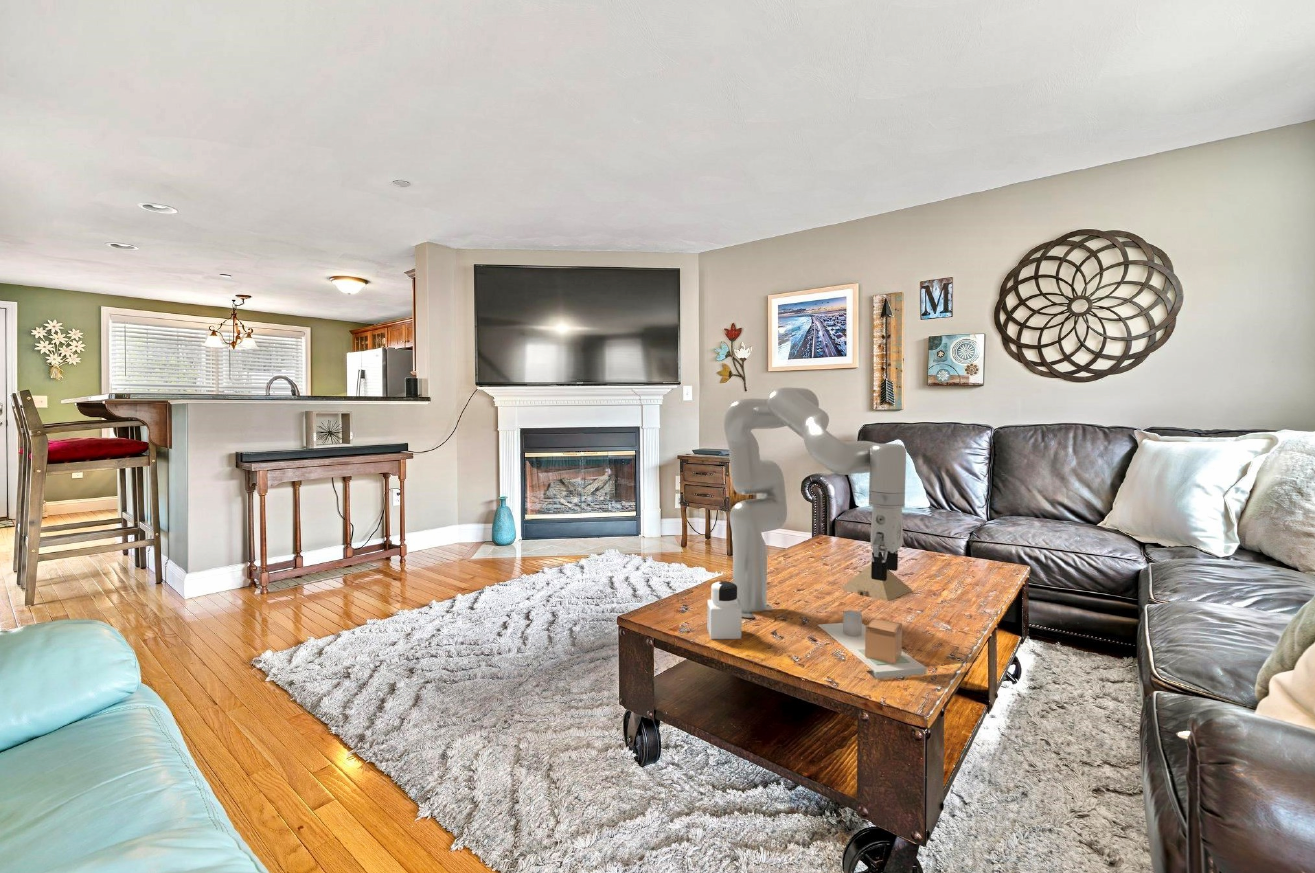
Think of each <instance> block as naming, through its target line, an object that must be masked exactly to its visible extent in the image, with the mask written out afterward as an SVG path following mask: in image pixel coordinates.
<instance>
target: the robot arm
mask: <svg viewBox="0 0 1315 873" xmlns="http://www.w3.org/2000/svg"><path fill="white" fill-rule="evenodd" d="M819 406H820V404H819V399H818V397H817V395H816V394H815V392H814V391H812V390H811V389H808V388H806V387H780V388H777V389H774V391H772V392H771V393H770V395H769V396H768V398H755V397H754V398H742V399H738V400H736V401H734V402H733V403H731V404H730V405H729V406H728V408H727V410H726V412H725V415H724V418H723V419H724V420H723V427H724V429H723V430H724V434H725V437H726V442H727V446H728V458H729V466H730V476H731V477H730V478H731V485H732V488H733V490H734V492H736V493H737V494H739V495H743V496H744V495H745V496H749V495H758V496H759V497H758V498H751V499H744V500H740V501H739V502H736V503H735V505H733V506H732V507H731V509H730V512H729V524H730V530H731V534H732V536H731V537H732V583H734V584H735V585H736V586H737V601H738V603H739V605H740V607H741V609H742V618H745V619H747V618H748V619H756V616H755V615H754V614H752V613H753V612H755V613H756V612H762V611H771V610H773V607H772V605H770V604H769V603H767V595H768V594H767V593H768V592H767V591H768V588H767V587H768V549H767V548H768V547H767V545H766V541H765V539H764V538H763V534H762V533H766V532H772V531H776V530H779V529H781V528H783V526H784V525H785V524H786V522H787V519H788V506H787V495H786V494H787V493H786V484H785V476H784V473H783V471H782V469H781V467H780V466H779V465H778V463H776V462H774V461H773V460H771V459H770V460H768V459H762V460H761V455H760V447H759V443H758V440H757V439H756V437H755V435H754V434H753V432H752V430H765V429H766V430H770V429H771V430H772V429H778V428H784V427H788V428H789V429H790V430H791V431H793V432H794V433H795V434H797V435H798V436H799V437H801V438H802V439H803V442H804V446H805V448H806V450H807V452H808V453H809V455H810V456H811V457H812V458H813V459H814V460H815V461H817V462H818V463H819V464H820V465H822V467H824V468H825V469H827V470H829V471H830V472H832V473H834V474H837V475H841V476H845V475H846V476H847V475H855V474H858V475H859V474H867V473H869V474H868V475H869V478H868V480H869V481H868V484H869V485H868V486H869V487H868V505H869V506H871V507H872V511H871V512H872V513H871V521H870V522H871V525H870V548H871V550H872V552H871V555H872V556H871V564H870V565H871V578H872V579H874V580H880V581H886V580H887V570H889V571H891V572H892V571H894V572H896V571H898V570H899V569H898V567H899V549H900V548H902V547H903V544H904V543H903V542H904V538H903V537H904V536H903V535H904V532H903V529H904V527H903V524H904V523H903V509H902V508H905V504H906V503H905V502H906V478H907V477H906V475H907V474H906V472H907V471H906V469H907V450H906V448H905V446H904V445H902V444H897V443H878V442H874V441H868V440H855V441H852V440H850V441H842V440H841V439H839V438H837V437H836V436H835V435H833V434H832V433H830V431H828V430H827V428H828V426H829V422H830V417H829V414H828V413H827V412H826V411H825V410H823V409H821V408H820V407H819ZM751 612H752V613H751Z"/></svg>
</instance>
